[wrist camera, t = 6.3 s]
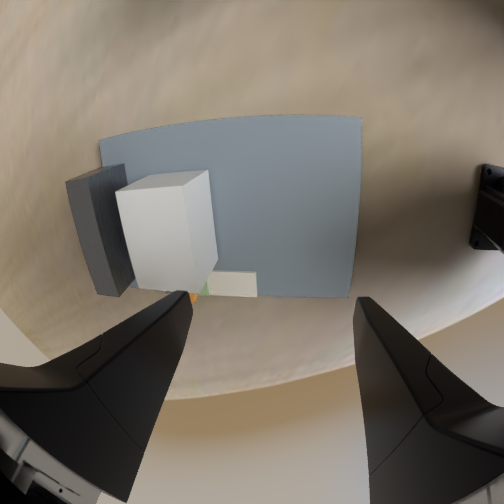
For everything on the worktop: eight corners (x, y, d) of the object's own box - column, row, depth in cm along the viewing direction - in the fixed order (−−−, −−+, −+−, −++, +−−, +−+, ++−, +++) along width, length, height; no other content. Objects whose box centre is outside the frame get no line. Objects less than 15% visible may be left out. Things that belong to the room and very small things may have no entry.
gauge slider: (208, 169, 16) (182, 185, 13) (223, 294, 20) (207, 332, 16) (149, 174, 17) (115, 191, 13) (172, 291, 21) (150, 324, 17)
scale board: (357, 117, 14) (363, 117, 13) (346, 288, 20) (349, 300, 18) (108, 138, 17) (95, 140, 16) (137, 279, 23) (129, 289, 21)
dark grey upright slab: (124, 163, 17) (87, 177, 13) (145, 267, 20) (119, 297, 17) (102, 166, 17) (65, 181, 14) (124, 266, 21) (97, 294, 17)
